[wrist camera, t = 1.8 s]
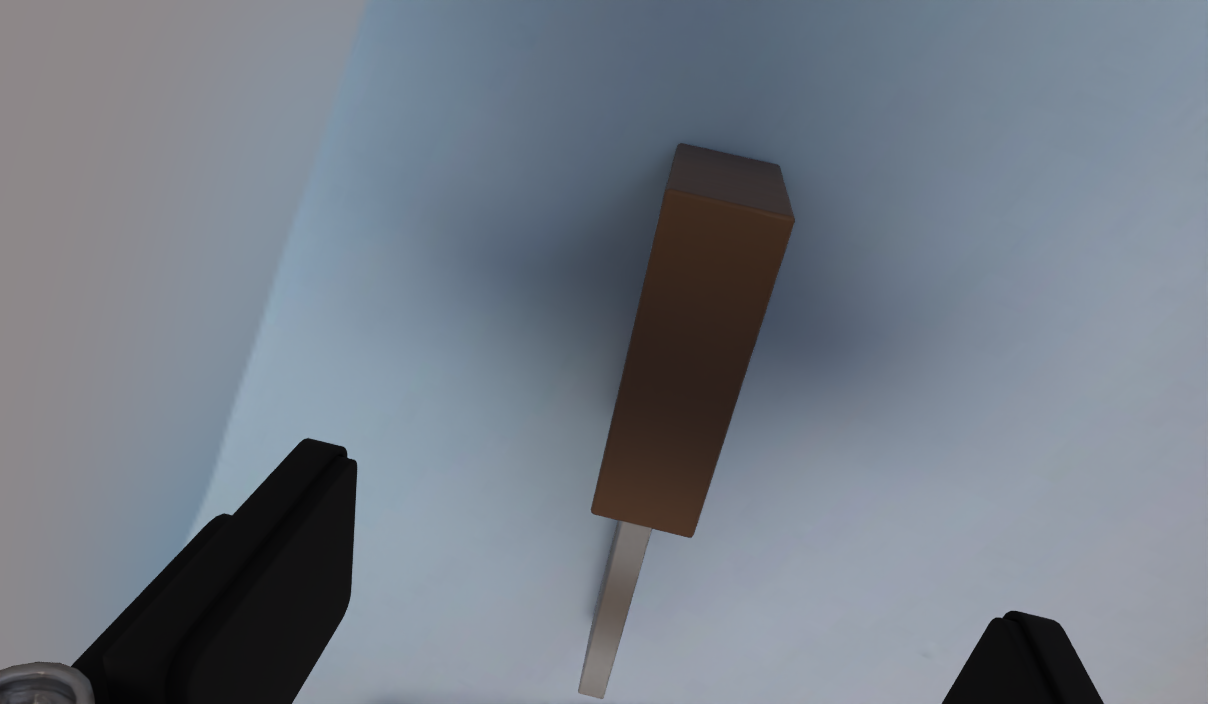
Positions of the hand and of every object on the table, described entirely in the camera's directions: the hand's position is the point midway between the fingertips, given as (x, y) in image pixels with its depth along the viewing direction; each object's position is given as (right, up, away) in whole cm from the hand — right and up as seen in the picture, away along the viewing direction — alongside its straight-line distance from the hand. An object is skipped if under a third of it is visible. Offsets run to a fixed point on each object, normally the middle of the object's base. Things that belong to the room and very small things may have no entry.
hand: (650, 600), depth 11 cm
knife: (+1, +1, +11) cm, 11 cm away
